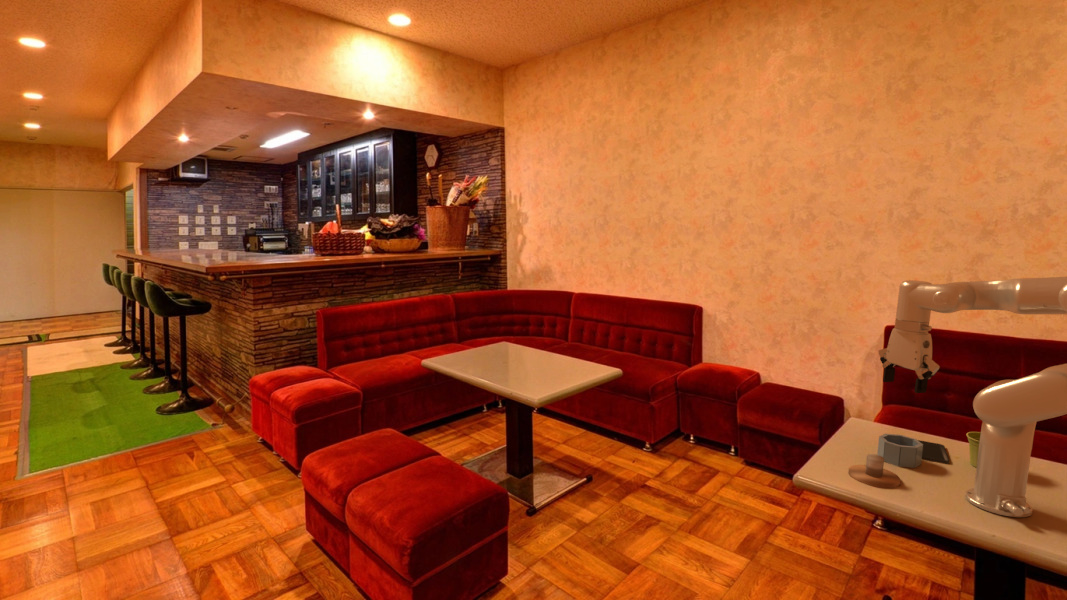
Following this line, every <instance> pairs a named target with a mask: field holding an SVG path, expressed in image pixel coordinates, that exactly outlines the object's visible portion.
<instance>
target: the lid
mask: <svg viewBox="0 0 1067 600" xmlns="http://www.w3.org/2000/svg"><path fill="white" fill-rule="evenodd" d="M865 460H866V461H865V464H855V465H854V464H853V465H851V466H849V467H848V471H847V472H848V475H849V477H851V478H852V479H854V480H855V481H857V482H859V483H861V484H864V485H868V486H871V487H875V488H882V489H893V488H897V487H899V486H900V485H901V478H900V476H899V475H898V474H896V473H894V472H893V471H890V470H888V469H886V468H884V464H885V462H884V458H883V457H882V456H879V455H877V454H874V453H869V454H867V455H866V459H865Z"/></svg>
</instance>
